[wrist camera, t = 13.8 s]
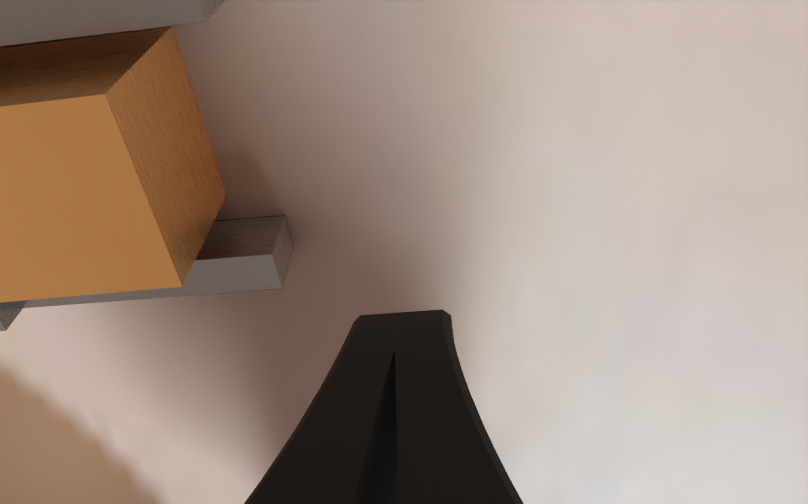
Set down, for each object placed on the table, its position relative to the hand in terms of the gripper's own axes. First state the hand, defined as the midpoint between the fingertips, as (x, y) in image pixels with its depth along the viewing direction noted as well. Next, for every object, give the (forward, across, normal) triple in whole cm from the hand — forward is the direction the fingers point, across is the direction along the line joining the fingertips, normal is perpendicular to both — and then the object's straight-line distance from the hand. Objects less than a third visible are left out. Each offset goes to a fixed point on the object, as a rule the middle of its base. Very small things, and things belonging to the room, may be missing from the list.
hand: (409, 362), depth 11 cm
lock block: (+10, +9, 0) cm, 14 cm away
